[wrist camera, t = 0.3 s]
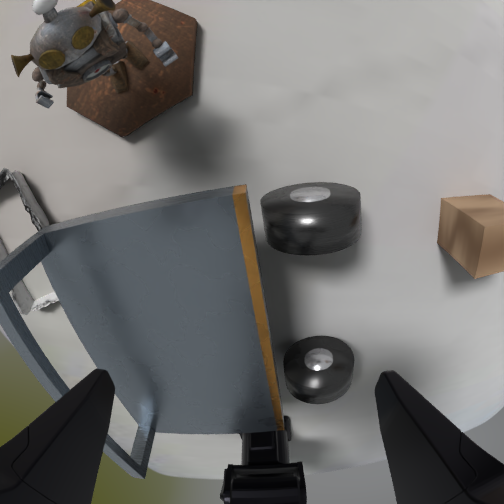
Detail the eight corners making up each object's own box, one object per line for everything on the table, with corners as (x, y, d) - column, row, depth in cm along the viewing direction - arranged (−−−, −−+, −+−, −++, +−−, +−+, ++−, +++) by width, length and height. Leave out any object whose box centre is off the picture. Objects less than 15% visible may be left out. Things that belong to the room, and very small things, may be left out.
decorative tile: (-20, 198, 21) (-37, 208, 18) (31, 150, 19) (11, 157, 17) (37, 303, 26) (24, 318, 24) (97, 280, 25) (84, 298, 22)
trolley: (343, 361, 28) (371, 467, 17) (158, 377, 30) (132, 476, 19) (342, 153, 19) (441, 215, 8) (84, 199, 21) (-22, 281, 10)
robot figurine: (96, 157, 19) (-20, 214, 9) (50, 65, 16) (-70, 66, 5) (228, 75, 17) (193, 30, 6) (169, -22, 13) (98, -108, 3)
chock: (484, 234, 22) (522, 265, 17) (436, 242, 22) (474, 278, 17) (489, 194, 20) (532, 219, 15) (440, 198, 21) (484, 226, 15)
